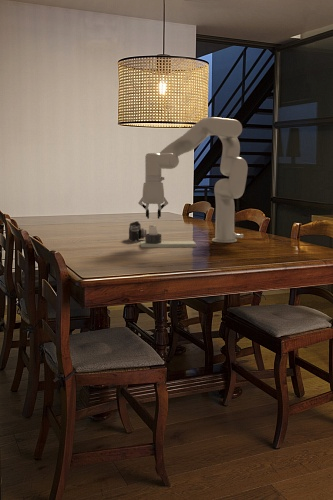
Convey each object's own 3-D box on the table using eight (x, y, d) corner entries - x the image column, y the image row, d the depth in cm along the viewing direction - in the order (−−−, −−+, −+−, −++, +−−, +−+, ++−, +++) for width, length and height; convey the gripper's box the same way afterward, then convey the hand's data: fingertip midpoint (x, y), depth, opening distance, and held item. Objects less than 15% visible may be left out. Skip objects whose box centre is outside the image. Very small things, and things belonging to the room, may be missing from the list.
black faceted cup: (160, 241, 277) (160, 233, 276) (161, 243, 269) (161, 235, 269) (145, 241, 276) (145, 233, 276) (145, 243, 269) (145, 235, 268)
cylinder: (157, 239, 275) (157, 225, 274) (158, 241, 270) (158, 226, 269) (148, 240, 275) (148, 225, 273) (149, 241, 270) (148, 226, 269)
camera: (148, 242, 284) (148, 222, 283) (131, 243, 283) (131, 222, 281) (144, 238, 299) (144, 219, 298) (128, 238, 298) (128, 219, 296)
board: (193, 244, 279) (193, 241, 279) (196, 247, 269) (196, 243, 269) (140, 244, 277) (140, 241, 277) (141, 247, 268) (141, 244, 267)
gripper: (170, 179, 272) (170, 217, 275) (135, 179, 271) (135, 217, 274) (171, 180, 265) (171, 219, 268) (135, 179, 264) (135, 219, 267)
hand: (153, 218), depth 271 cm, fingers open, 4 cm apart
